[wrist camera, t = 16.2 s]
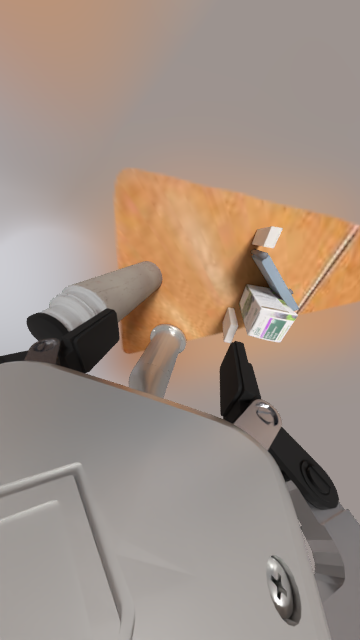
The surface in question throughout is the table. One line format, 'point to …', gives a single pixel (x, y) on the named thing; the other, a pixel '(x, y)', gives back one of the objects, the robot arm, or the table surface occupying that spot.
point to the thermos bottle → (96, 299)
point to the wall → (262, 238)
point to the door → (273, 277)
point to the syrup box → (265, 313)
